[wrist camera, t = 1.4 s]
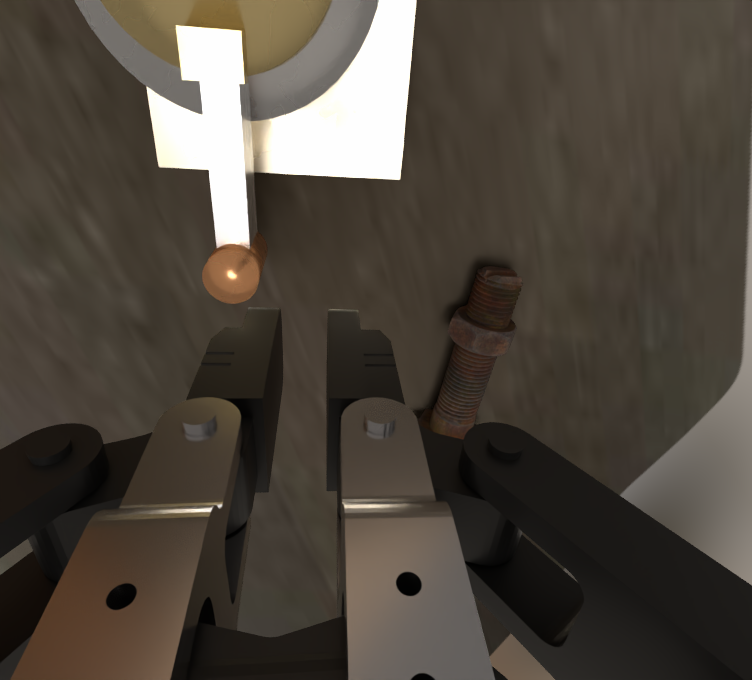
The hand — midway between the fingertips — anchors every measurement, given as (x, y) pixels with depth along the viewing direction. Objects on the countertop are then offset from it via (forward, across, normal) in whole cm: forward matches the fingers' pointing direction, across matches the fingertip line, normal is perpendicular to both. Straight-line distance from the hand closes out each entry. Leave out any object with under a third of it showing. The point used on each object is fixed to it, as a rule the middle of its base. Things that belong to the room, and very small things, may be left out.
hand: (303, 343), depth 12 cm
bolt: (+21, -12, +13) cm, 28 cm away
